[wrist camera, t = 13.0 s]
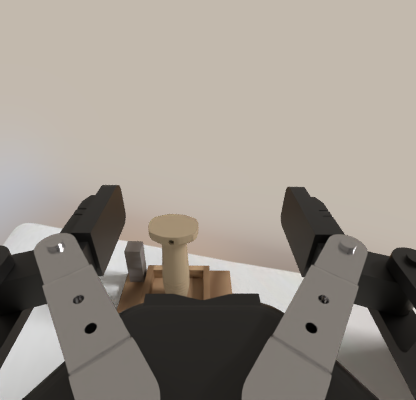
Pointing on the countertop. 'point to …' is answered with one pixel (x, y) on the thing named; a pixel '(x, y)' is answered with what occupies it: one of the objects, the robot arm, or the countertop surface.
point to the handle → (174, 249)
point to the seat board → (153, 280)
